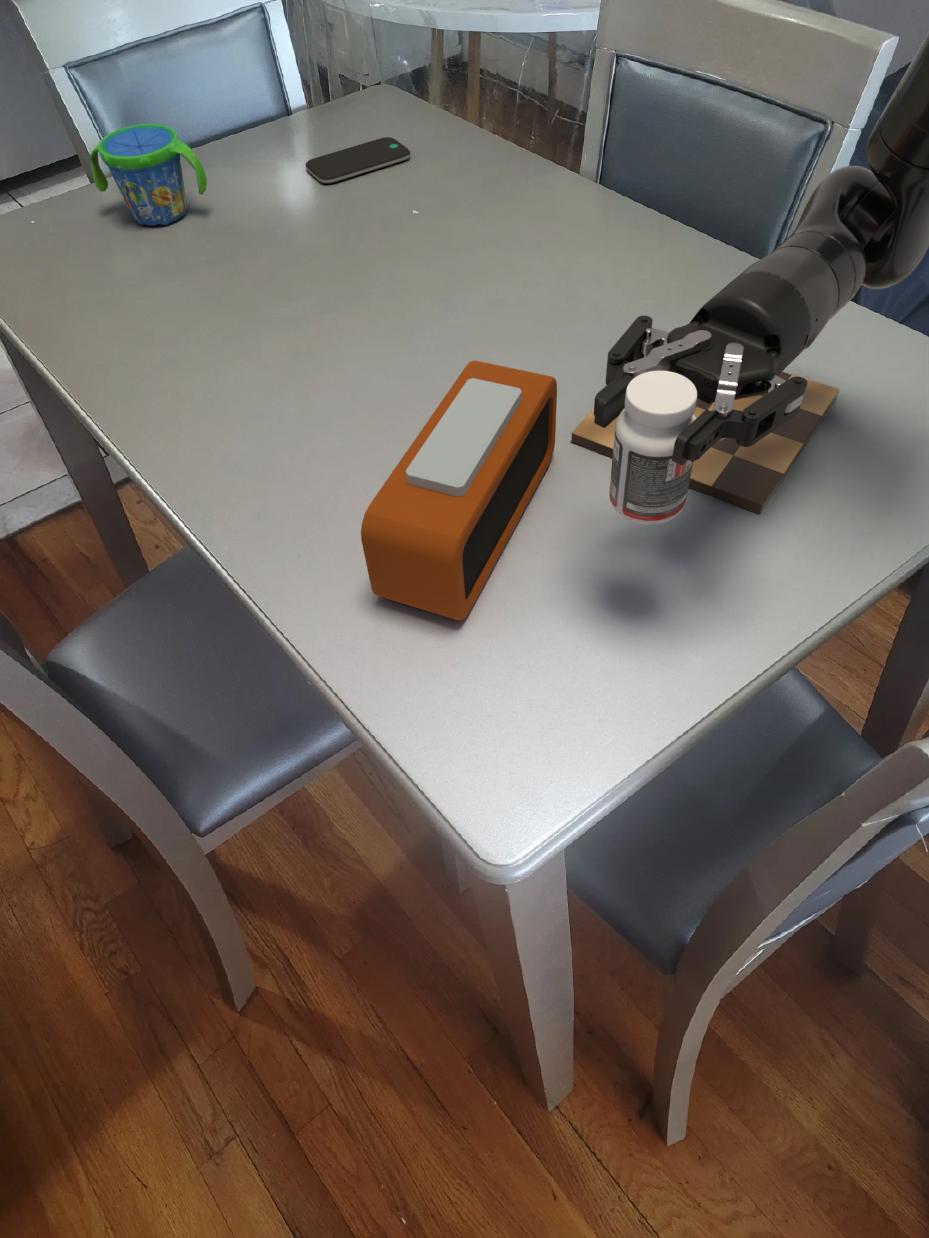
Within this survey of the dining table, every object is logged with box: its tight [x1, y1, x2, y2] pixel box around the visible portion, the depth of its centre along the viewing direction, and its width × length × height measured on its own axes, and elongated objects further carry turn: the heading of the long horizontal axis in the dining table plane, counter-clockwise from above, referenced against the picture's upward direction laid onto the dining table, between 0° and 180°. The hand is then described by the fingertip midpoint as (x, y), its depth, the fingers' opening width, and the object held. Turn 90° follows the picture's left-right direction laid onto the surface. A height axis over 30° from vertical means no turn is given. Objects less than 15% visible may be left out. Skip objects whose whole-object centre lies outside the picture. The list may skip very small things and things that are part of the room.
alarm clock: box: [360, 360, 558, 621], centre depth 76 cm, size 24×8×11 cm, turn 157°
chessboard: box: [570, 369, 840, 515], centre depth 88 cm, size 20×20×1 cm
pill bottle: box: [608, 371, 697, 525], centre depth 61 cm, size 6×6×10 cm
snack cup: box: [89, 123, 208, 226], centre depth 118 cm, size 16×10×10 cm
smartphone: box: [305, 136, 411, 185], centre depth 129 cm, size 8×1×15 cm
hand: (638, 433), depth 58 cm, fingers closed on pill bottle, 5 cm apart
